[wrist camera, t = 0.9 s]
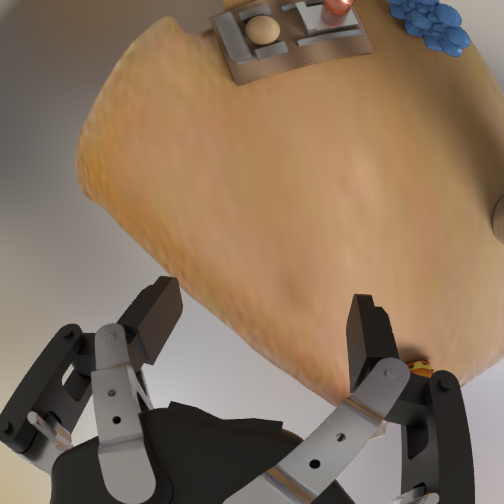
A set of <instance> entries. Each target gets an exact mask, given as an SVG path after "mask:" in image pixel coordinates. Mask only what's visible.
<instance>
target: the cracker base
mask: <svg viewBox="0 0 504 504" xmlns="http://www.w3.org/2000/svg"><path fill="white" fill-rule="evenodd" d="M303 1H304V3H305V5H306V7H311V6H316V5H322V3H323V0H257V1H254V2H251V3H248V4H245V5H242V6H239V7H236V8H233V9H231V10H228V11H225V12H223V13H220V14H218V15H215V16H213V17H211V18H209V19H210V21H211V24H212V26H213V28H214V31H215V33H216V36H217V38H218V40H219V43H220V45H221V48H222V50H223V53H224V55H225V57H226V60H227V62H228V65H229V67H230V70H231V73H232V75H233V78H234V80H235V83H236V85H237V86H241V85H244V84H247V83H250V82H252V81H255V80H258V79H262V78H265V77H268V76H271V75H274V74H278V73H281V72H285V71H288V70H292V69H296V68H300V67H304V66H308V65H312V64H316V63H321V62H325V61H330V60H335V59H340V58H346V57H352V56H358V55H365V54H372V53H373V52H374V50H373V47H372V45H371V42H370V40H369V38H368V35H367V33H366V31H365V28H364V26H363V24H362V22H361V20H360V18H359V15H358V13H357V11H356V9H355V7H354V5H353V4H352V7H351V9H352V11H353V13H354V15H355V18H356V20H357V22H358V26H357V27H350V28H344V29H337V30H331V31H326V32H321V33H316V35H313V36H309V37H308V36H307V34H306V31H305V29H304V27H303V25H302V23H301V21H300V18H299V16H298V14H297V12H296V5H295V3H298V2H303ZM256 16H269V17H271V18H273V19H274V20H275V21H277V23H278V24H279V27H280V34H279V36H278V38H277V39H276V40H275V41H274V42H272V43H270V44H266V45H260V44H256V43H254V42H252V41H251V40H250V39H249V38H248V37H247V35H246V32H245V28H246V25H247V23H248V22H249V20H251V19H252V18H254V17H256Z"/></svg>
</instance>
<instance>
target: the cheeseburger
mask: <svg viewBox="0 0 504 504" xmlns="http://www.w3.org/2000/svg"><path fill="white" fill-rule="evenodd" d="M407 366H408V368H409V370H410V372H411V373H414V374H417V375H421V376H425V377H429V378H430V377H431V375H432V374H433V373H434V367H433V366H432V365H430V363H429V362H427V361H415V362H411V363H409V364H407Z"/></svg>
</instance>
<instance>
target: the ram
mask: <svg viewBox="0 0 504 504" xmlns="http://www.w3.org/2000/svg"><path fill="white" fill-rule="evenodd" d="M353 2H354V0H323V3H322V5H316V6H311V7H306V5H305V3H304V1H303V2H298V3H295V5H296V12H297V14H298V16H299V18H300V21H301V23H302V25H303V27H304V29H305V31H306V34H307V36H308V37H309V36H313V35H316V33H321V32H326V31H331V30H337V29H344V28H350V27H357V26H358V22H357V20H356V18H355V15H354V13H353V11H352V9H351V7H352V4H353Z"/></svg>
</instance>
